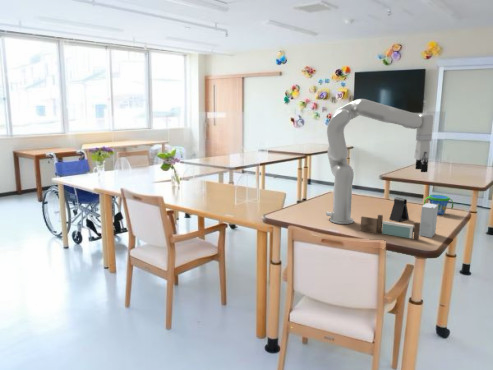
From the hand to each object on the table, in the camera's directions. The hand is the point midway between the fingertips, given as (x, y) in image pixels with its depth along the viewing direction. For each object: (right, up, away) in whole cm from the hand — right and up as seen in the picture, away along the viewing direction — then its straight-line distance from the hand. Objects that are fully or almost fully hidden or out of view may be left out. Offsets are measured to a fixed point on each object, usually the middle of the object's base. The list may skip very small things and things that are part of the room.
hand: (421, 170), depth 219 cm
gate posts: (-23, -32, -17) cm, 43 cm away
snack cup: (+19, -24, +22) cm, 38 cm away
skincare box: (-4, -32, -17) cm, 37 cm away
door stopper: (-8, -27, +10) cm, 30 cm away
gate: (-20, -32, -20) cm, 42 cm away
